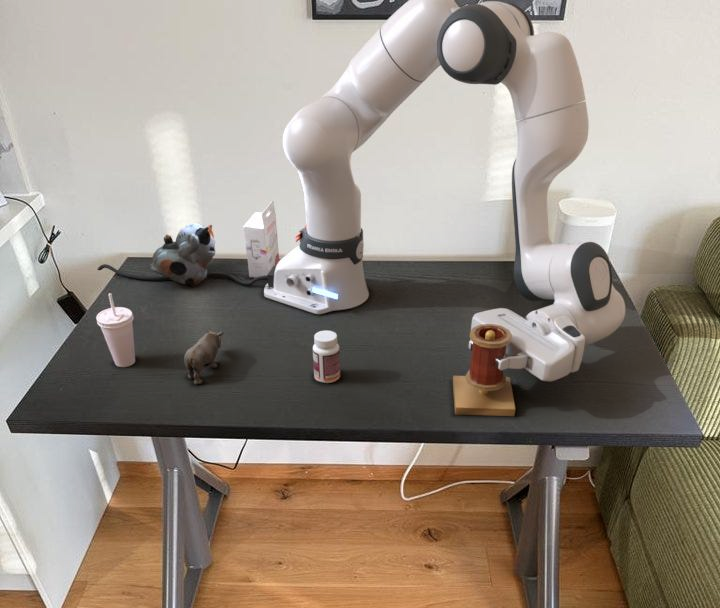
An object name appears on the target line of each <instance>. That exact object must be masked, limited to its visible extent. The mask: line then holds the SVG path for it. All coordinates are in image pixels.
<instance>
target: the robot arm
mask: <svg viewBox="0 0 720 608" xmlns="http://www.w3.org/2000/svg"><path fill="white" fill-rule="evenodd" d="M439 67H441V68H442V69H443V71H444V72H445V73H446V74H447V75H448V76H449V78H452V79H454V80H455V81H457V82H460V83H463V84H468V85H494V86H496V85H500V84H502V85H504V86H505V87H506V89H507V90H508V92H509V94H510V98H511V101H512V107H513V111H514V118H515V124H516V130H517V131H516V133H517V151H516V157H515V160H514V161H513V164H512V168H511V197H512V210H513V213H512V214H513V227H514V241H515V253H514V263H513V279H514V283H515V286H516V288H517V291H518V292H519V293H520V295H522V297H523V298H525V299H526V300H528V301H530V302H543V301H544V302H545V301H552V300H554V301H553V304H550V305H547V306H543V307H540V308H538V309H536V310H532V311H530V312H529V313H528V314H526V316H525V317H523V316H521V315H519V314H518V313H516V312H515V311H512V310H511V309H509V308H504V307H499V308H492V309H488V310H484V311H480V312H477V313H474V314H473V316H472V318H471V325H470V331H471V330H472V328H473V327H476V326H478V325H481V324H495V325H500V326H503V327H505V328H506V329H508V330H509V331H510V333H511V334H512V338H511V341H510V343H509V344H508V345H507V346H506V354H505V355H502V356H500V357H497V358H496V359H495V367H497V368H498V369H500V370H503V371H504V370H507V369H513V370H514V369H515V370H521V369H524V370H525V371H527V372H529V373H530V374H531V375H533V376H534V377H536V378H538V379H539V380H540V381H543V382H554V381H557V380H559V379H562V378H564V377H566V376H568V375H570V373H576V372H577V371H580V367H581V363H582V360H583V357H584V352H585V347H586V346H589V345H592V344H594V343H597V342H598V341H601V340H603V339H605V338H607V337H609V336H610V335H612V334H614V332H616V331H617V330H618V329H619V327H620V326H621V325H622V323H623V321H624V319H625V316H626V303H625V300H624V298H623V296H622V294H621V293H620V292H619V291H618V290H617V289H616V288H615V286H614V285H613V272H612V264H611V260H610V257H609V255H608V253H607V252H606V250H605V249H604V247H602V246H601V245H600V244H598V243H596V242H593V241H580V242H569V243H567V242H566V243H554V242H553V241H552V240H551V238H550V233H549V214H548V213H549V210H548V192H549V189H550V186H551V184H552V182H553V181H554V180H555V179H556V178H557V176H558V175H559V174H561V173H562V172H563V171H564V170H566V169H567V168H568V167H570V165H572V164H573V163H574V162H575V161H576V160H577V159H578V157H579V156H580V155H581V154H582V152H583V150H584V148H585V146H586V144H587V142H588V139H589V127H590V126H589V125H590V124H589V122H590V121H589V114H588V108H587V101H586V95H585V88H584V83H583V79H582V75H581V71H580V66H579V63H578V60H577V58H576V54H575V52H574V48H573V46H572V43H571V42H570V39H568V38H567V37H566V36H565V35H563V34H562V33H559V32H551V31H549V32H540V33H537V34H535V29H534V25H533V22H532V19H531V18H530V16H529V15H528V13H527V12H526V11H525V10H524V9H523V8H522V7H521V6H519V5H517V4H515V3H512V2H507V1H506V2H505V1H496V0H488V1H482V2H478V3H470V4H466V5H463V6H461V7H459V5H458V4H457V2H456V1H455V0H407V1H406V2H405V3H403V5H401V6H400V7H399V8H398V9H396V11H395V12H393V13H392V14H391V16H389V17H388V18H387V20H386V21H385V22H384V23H383V24H382V25H381V26H380V27H379V28H378V30H377V31H376V32H375V33H374V34H373V35H372V36H371V37H370V38H369V39H368V41H367V42H366V43H365V44H364V45H363V46H362V47H361V48H360V49H359V51H357V53H356V54H355V55H354V56H353V57H352V58H351V60H350V61H349V64H348V66H347V67H346V69H345V70H344V72H343V73H342V75H341V76H340V77H339V79H338V80H337V81H336V83H335V84H334V85H333V86H332V87H331V88H330V89H329V90H328V91H327V92H325V94H323V95H322V96H320V97H319V98H318V99H316V100H314V101H313V102H311V103H309V104H307V105H305V106H304V107H302V108H300V109H299V110H297V112H296V113H295V114H294V115H293V116H292V118H291V119H290V121H289V122H288V124H287V125H286V127H285V128H284V131H283V135H282V147H283V151H284V155H285V156H286V158H287V160H288V161H289V162H290V164H291V165H292V166H293V167H294V168H296V170H297V173H298V175H299V179H300V182H301V186H302V190H303V196H304V209H305V211H304V212H305V224H304V227H303V228H302V229H300V230H299V233H298V234H296V235H295V237H294V238H295V243H297V242H298V241H299V245H297V246H296V247H294V248H293V249H291V250H290V251H289V252H288V253H286V254H285V255H284V256H282V257H281V259H279V262H278V264H277V266H274V267H273V268H272V269H271V270H270V272H269V273H268V274H267V275H264V276H259V277H256V278H252V279H251V280H249V281H245V280H241V279H239V278H238V277H237V276H234V275H233V274H231V273H227V272H222V271H207V276H206V277H225V278H228V279H230V280H233V281H234V282H236V283H238V284H240V285H241V286H253V285H254V284H255V283H256V282H259V281H262V280H267V283H266V284H265V286H264V289H263V296H264V297H265V298H267V299H269V300H272V301H275V302H278V303H281V304H285V305H288V306H291V307H294V308H297V309H299V310H303V311H306V312H308V313H312V314H315V315H323V314H326V313H330V312H333V311H342V310H343V311H344V310H348V309H353V308H356V307H358V306H360V305H362V304H363V303H365V302H366V301H367V300H368V299H369V296H370V292H369V288H368V285H367V282H366V277H365V271H364V265H363V264H364V263H363V258H364V251H365V249H364V248H365V245H364V230H363V228H362V192H361V189H360V187H359V186H358V184H356V183H355V180H354V176H353V171H352V166H351V165H352V164H351V160H352V159H351V158H352V154H353V153H354V152H355V151H356V150H358V149H359V148H361V147H362V146H363V145H364V144H365V143H366V142H367V141H368V140H369V139H370V138H371V137H372V136H373V135H374V134H375V133H376V132H377V130H379V129H380V127H381V126H382V125H383V124H384V123H385V122H387V119H388V118H389V117H390V116H391V115H392V114H393V113H394V112H395V111H396V110H397V109H398V107H400V105H402V104H403V103H404V102H405V101H406V100H407V99H408V98H409V97H410V96H411V95H412V94H413V93H414V92H415V91H416V90H417V89H418V87H420V86H421V85H422V84H423V83H424V82H426V80H427V79H428V78H429V77H430V76H431V75H432V74H433V73H434V72H435V71H436V70H437V69H438V68H439ZM103 269H108V270H110V271H112V272H113V273H115V274H117V275H119V276H121V277H125V278H130V279H135V280H142V281H143V280H144V281H169V280H171V279H170V278H168V277H166V276H164V275H162V276H153V275H151V276H149V275H137V274H132V273H128V272H123V271H121V270H119V269H117V268H115V267H113V266H112V265H110V264H107V263H105V264H100V265H99V266H98V267H97V271H102V270H103ZM472 345H473V342H472V341H471V339H470V340H469V341H468V349H469V350H470V351H472Z"/></svg>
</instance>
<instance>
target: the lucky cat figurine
mask: <svg viewBox="0 0 720 608" xmlns="http://www.w3.org/2000/svg"><path fill="white" fill-rule="evenodd" d="M163 242H164V244H162V245H161V247H158V248H157V249H155V251H154V252H153V254H152V258H151V263H150V264H149V265H148V266H147V267H148V269H149V270H151V271H153V272H155V273H157V274H159V275H162V276H166V277H168V278H170V280H172V281H174V282H176V283H179V284H183V285H188V284H190V285H191V287H195V286H197V285H198V284H200V283H201V282H202V281H204V280H205V279H206V278H207V277H208V276H207V272H208V265H209V263H210V262H211V261H212V259H213V257H214V256H215V255H216V248H215V247H216V243H217V241H216V240H215V234H214V231H213V225H212V224H208V226H205V225H203V224H200V223H188V224H187V225H185V226H183V227H181V228H180V230H179V231H178V232H177V235H176V238H175V241H174V240H173V238H172V236H171V235H169V234H166V235H165V236H164V237H163Z"/></svg>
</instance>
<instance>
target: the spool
mask: <svg viewBox="0 0 720 608" xmlns="http://www.w3.org/2000/svg"><path fill="white" fill-rule="evenodd" d="M489 330H492V331H494V332H495V340H488V339H485V334H486V332H487V331H489ZM511 338H512V334H511V333H510V331H509V330H508V329H506V328H505V327H503V326H500V325H495V324H481V325H478V326H476V327H473V328H472V330H471V329H470V332H469V339H470V340H471V341H472V342H473V345H472V350H471V357H470V367H469V370H468V371H467V372H466V374H465V376H466V381H467V384H468V385H469V386H471V387H473V388H474V389H477V390H482V391H495V390H498V389H500V388H502V387H503V386H504V384H505V382H506V377H507V376H506V375H505V373H504V370H500V369H498V368H497V367H495V359H496V358H497V357H500V356H502V355H505V354H506V346H507V345H508V344H509V343H510V341H511Z"/></svg>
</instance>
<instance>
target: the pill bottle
mask: <svg viewBox="0 0 720 608" xmlns="http://www.w3.org/2000/svg"><path fill="white" fill-rule="evenodd" d="M313 340H314V342H313V343H314V344H313V345H312V358H313V359H312V360H313V377H314V380H316V381H317V382H320V383H323V384H330V383H334V382H337V381H338V380H339V379H340V377H341V356H340V355H341V354H340V353H341V351H340V350H341V349H340V345H339V344H338V334H337V333H336V332H335V331H332V330H320V331H317V332H316V333H315V334H314V335H313Z"/></svg>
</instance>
